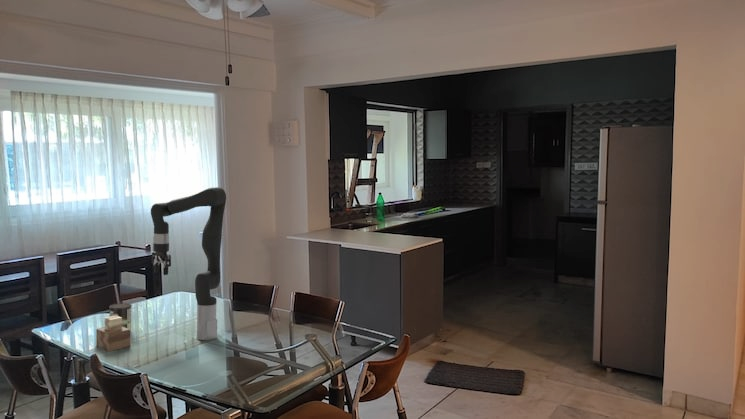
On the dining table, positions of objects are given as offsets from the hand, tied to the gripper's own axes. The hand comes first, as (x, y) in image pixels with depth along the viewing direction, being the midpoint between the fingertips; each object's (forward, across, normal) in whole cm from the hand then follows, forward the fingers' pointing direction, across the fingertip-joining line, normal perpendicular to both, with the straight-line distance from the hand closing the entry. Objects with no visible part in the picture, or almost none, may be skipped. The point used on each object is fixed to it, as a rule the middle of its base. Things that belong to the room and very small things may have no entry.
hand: (161, 273), depth 276 cm
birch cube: (+22, -5, +27) cm, 35 cm away
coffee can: (+30, +12, +15) cm, 36 cm away
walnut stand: (+30, -5, +27) cm, 41 cm away
